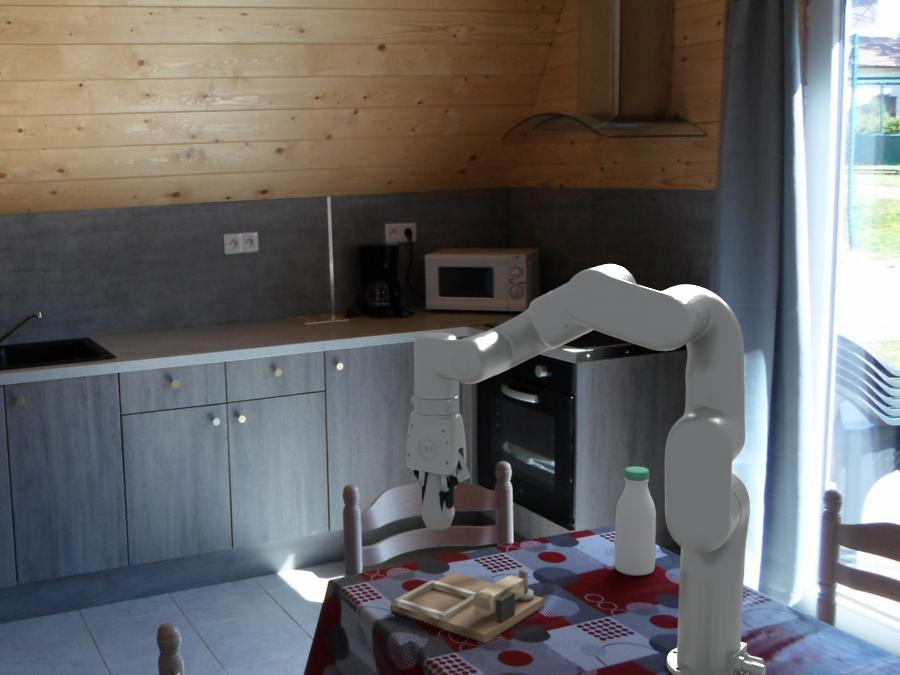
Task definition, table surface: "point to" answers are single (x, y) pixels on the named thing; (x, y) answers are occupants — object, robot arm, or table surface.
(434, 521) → the salt shaker
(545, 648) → the table surface
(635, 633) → the table surface
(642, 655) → the table surface
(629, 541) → the milk bottle
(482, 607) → the leg
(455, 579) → the wooden activity board
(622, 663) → the table surface
